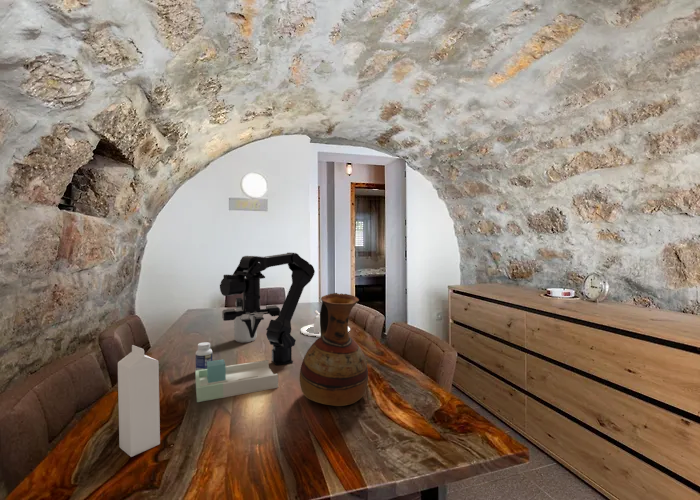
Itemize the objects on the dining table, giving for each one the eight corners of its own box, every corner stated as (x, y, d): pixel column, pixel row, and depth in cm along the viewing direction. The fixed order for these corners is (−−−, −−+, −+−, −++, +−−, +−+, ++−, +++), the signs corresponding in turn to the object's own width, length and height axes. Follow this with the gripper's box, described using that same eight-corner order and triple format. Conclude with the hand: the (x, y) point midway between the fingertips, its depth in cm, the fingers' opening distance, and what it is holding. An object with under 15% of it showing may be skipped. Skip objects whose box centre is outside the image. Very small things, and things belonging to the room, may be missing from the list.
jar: (247, 336, 168) (247, 298, 167) (261, 339, 162) (260, 300, 162) (229, 340, 160) (229, 301, 159) (243, 344, 154) (243, 303, 154)
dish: (294, 337, 167) (293, 313, 167) (308, 324, 191) (308, 304, 191) (345, 339, 163) (344, 314, 162) (353, 326, 187) (353, 305, 187)
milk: (147, 435, 82) (146, 341, 81) (160, 444, 78) (159, 345, 78) (118, 448, 77) (117, 347, 77) (130, 458, 73) (128, 352, 73)
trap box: (267, 371, 122) (267, 359, 122) (278, 387, 108) (278, 374, 108) (195, 382, 112) (195, 370, 112) (196, 402, 99) (196, 388, 98)
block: (223, 374, 114) (223, 359, 114) (225, 380, 109) (225, 364, 109) (207, 377, 112) (207, 361, 112) (208, 382, 107) (208, 366, 107)
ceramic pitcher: (315, 420, 88) (314, 301, 87) (290, 390, 106) (289, 291, 105) (381, 403, 97) (381, 295, 96) (348, 378, 115) (347, 287, 114)
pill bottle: (206, 375, 119) (206, 346, 119) (192, 373, 120) (192, 345, 120) (215, 369, 124) (215, 341, 124) (202, 368, 125) (201, 341, 125)
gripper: (273, 288, 132) (273, 329, 132) (220, 291, 124) (221, 335, 124) (280, 291, 122) (281, 336, 122) (223, 295, 114) (224, 343, 114)
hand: (251, 337), depth 121 cm, fingers closed
